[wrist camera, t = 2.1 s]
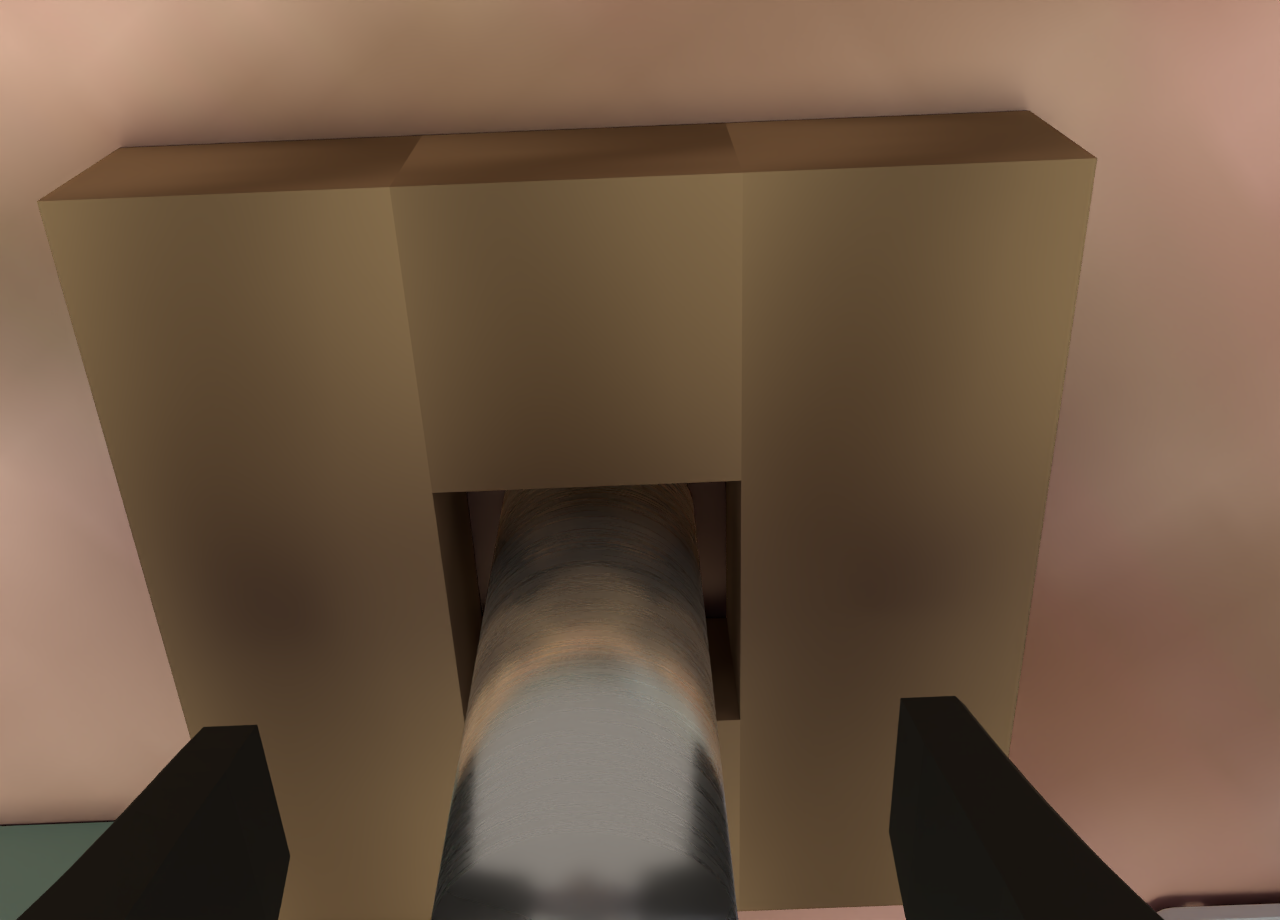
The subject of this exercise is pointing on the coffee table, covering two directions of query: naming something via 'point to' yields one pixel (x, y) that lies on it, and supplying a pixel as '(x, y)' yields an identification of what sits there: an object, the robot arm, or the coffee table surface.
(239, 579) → the pin block
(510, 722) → the pin
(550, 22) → the coffee table surface
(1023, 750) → the coffee table surface
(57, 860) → the tray
